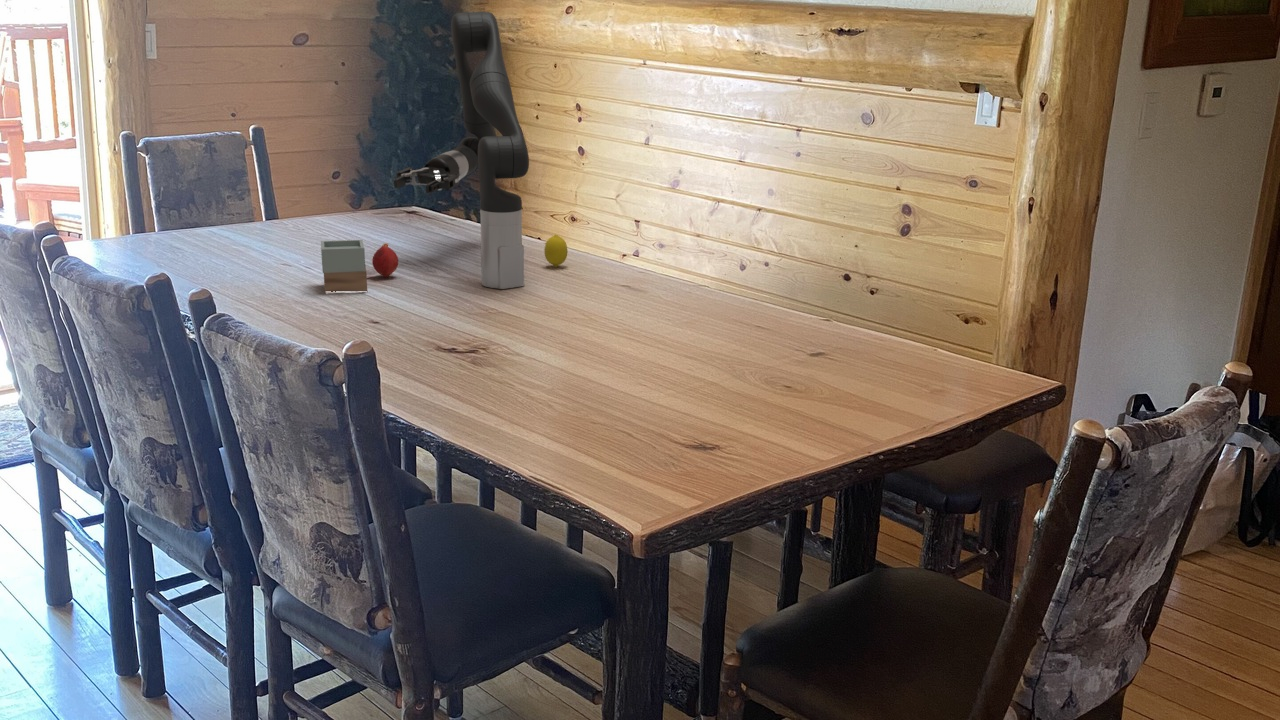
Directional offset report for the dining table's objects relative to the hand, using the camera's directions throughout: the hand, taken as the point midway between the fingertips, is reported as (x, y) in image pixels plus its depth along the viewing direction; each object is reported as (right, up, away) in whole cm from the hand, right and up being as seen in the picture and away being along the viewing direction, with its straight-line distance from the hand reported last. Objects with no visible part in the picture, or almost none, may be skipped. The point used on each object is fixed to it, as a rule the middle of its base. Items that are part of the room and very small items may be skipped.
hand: (411, 187), depth 269 cm
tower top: (-12, -20, -13) cm, 27 cm away
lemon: (+33, -18, +13) cm, 39 cm away
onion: (-6, -21, -1) cm, 22 cm away
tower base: (-12, -25, -12) cm, 30 cm away
